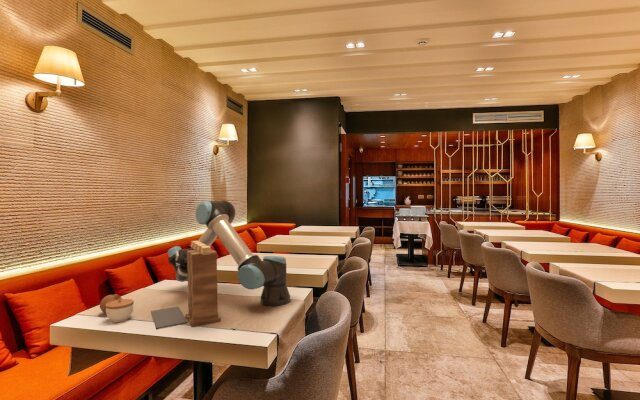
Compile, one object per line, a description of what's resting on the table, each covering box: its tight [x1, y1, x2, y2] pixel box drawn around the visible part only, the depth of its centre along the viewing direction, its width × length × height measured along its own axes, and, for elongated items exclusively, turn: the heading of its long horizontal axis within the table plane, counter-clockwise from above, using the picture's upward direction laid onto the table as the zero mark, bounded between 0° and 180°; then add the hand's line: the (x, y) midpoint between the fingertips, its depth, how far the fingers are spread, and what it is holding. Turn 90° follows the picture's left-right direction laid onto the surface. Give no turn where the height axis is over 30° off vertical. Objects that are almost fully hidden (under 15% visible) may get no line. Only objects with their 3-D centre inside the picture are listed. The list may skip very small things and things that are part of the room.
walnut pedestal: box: [185, 248, 222, 328], centre depth 147 cm, size 14×12×30 cm
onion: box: [99, 293, 123, 315], centre depth 156 cm, size 10×9×10 cm
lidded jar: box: [105, 298, 135, 323], centre depth 148 cm, size 11×11×9 cm
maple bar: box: [190, 239, 212, 255], centre depth 150 cm, size 26×3×3 cm, turn 32°
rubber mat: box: [150, 305, 189, 330], centre depth 150 cm, size 24×12×1 cm, turn 32°
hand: (192, 251), depth 164 cm, fingers open, 13 cm apart
